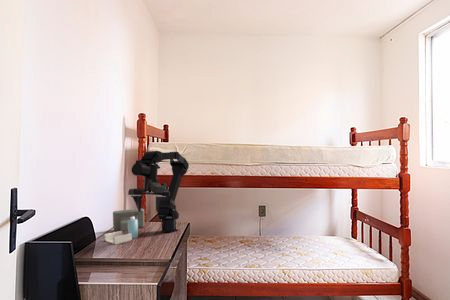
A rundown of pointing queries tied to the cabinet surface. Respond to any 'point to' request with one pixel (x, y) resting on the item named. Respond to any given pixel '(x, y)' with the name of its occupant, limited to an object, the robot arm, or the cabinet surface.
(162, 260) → the cabinet surface
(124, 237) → the u rest
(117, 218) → the digital clock
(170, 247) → the cabinet surface
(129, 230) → the bottle
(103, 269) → the cabinet surface
